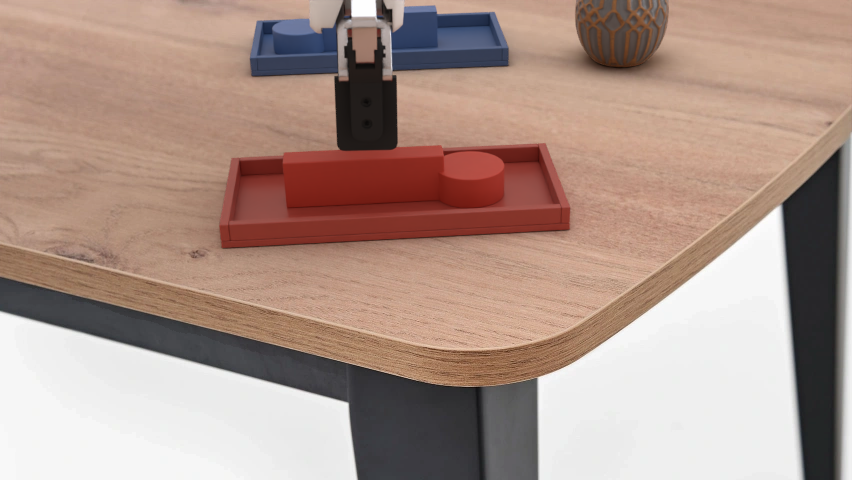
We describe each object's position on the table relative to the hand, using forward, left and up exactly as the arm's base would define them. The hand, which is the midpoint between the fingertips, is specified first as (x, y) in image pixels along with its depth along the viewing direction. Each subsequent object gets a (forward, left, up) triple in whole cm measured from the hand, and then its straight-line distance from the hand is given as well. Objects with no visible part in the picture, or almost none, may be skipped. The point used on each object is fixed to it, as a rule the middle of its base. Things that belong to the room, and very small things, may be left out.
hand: (366, 113), depth 69 cm
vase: (+19, +22, -5) cm, 30 cm away
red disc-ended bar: (+1, -1, -5) cm, 5 cm away
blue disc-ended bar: (0, +26, -5) cm, 26 cm away
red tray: (+1, -1, -5) cm, 5 cm away
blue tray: (+1, +26, -5) cm, 26 cm away
